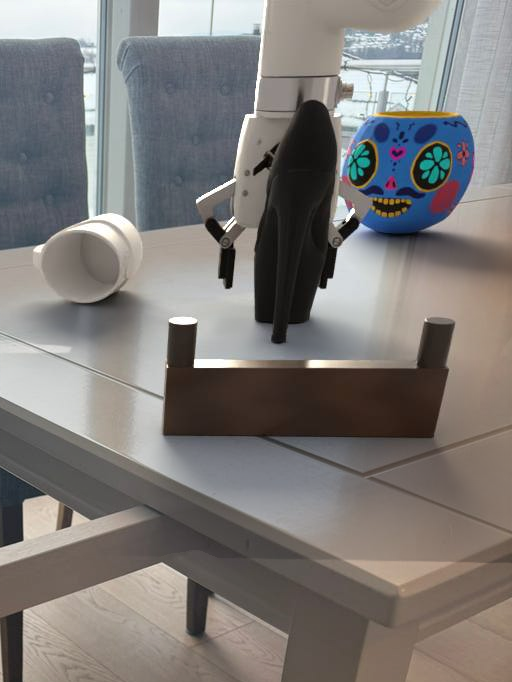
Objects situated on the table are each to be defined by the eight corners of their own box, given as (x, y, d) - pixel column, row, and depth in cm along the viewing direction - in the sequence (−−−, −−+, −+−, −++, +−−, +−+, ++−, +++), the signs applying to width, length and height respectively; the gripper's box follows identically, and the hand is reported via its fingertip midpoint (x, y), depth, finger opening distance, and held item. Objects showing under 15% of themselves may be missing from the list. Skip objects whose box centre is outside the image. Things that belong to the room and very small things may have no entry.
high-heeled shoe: (315, 301, 101) (346, 88, 90) (321, 350, 86) (359, 101, 75) (241, 299, 103) (262, 89, 92) (234, 346, 87) (258, 102, 77)
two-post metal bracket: (426, 427, 69) (450, 316, 65) (434, 437, 67) (459, 324, 63) (161, 425, 70) (168, 317, 66) (162, 434, 69) (169, 324, 64)
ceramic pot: (317, 237, 133) (334, 117, 124) (349, 218, 145) (367, 108, 137) (447, 247, 125) (473, 119, 117) (469, 226, 138) (494, 109, 130)
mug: (147, 290, 107) (151, 215, 103) (121, 309, 100) (123, 229, 96) (52, 282, 112) (51, 210, 107) (20, 300, 104) (18, 223, 100)
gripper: (379, 94, 91) (350, 278, 100) (201, 97, 92) (188, 278, 102) (398, 99, 85) (365, 294, 94) (206, 102, 86) (192, 294, 95)
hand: (273, 286), depth 98 cm, fingers open, 9 cm apart
